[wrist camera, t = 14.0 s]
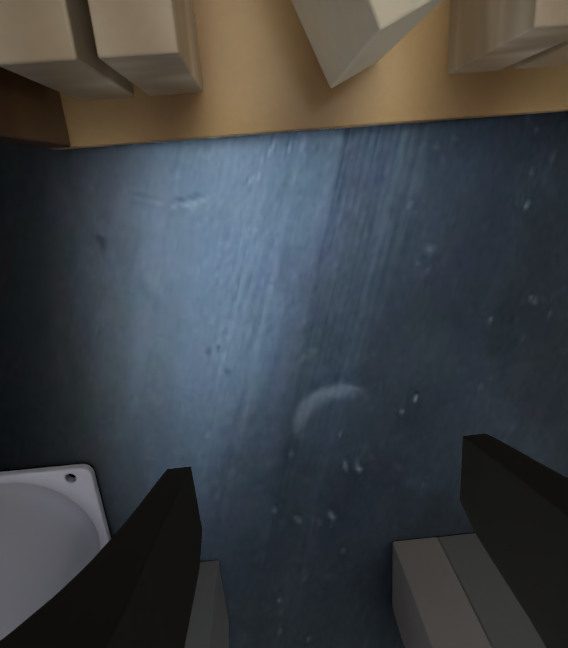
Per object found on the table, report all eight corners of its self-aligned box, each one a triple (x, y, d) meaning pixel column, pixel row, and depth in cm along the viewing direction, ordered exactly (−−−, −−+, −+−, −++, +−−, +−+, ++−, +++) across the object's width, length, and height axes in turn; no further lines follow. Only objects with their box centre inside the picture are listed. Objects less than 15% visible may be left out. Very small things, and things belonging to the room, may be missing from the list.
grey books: (186, 631, 26) (163, 775, 19) (172, 564, 24) (143, 698, 18) (476, 599, 26) (543, 729, 20) (481, 531, 25) (557, 650, 18)
